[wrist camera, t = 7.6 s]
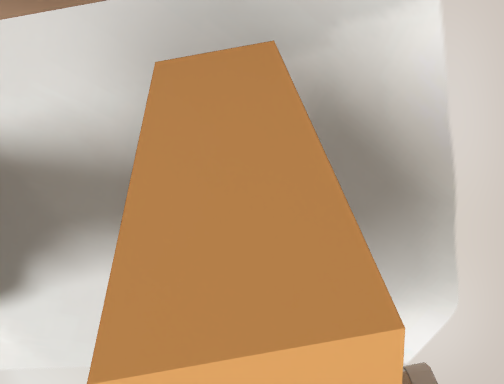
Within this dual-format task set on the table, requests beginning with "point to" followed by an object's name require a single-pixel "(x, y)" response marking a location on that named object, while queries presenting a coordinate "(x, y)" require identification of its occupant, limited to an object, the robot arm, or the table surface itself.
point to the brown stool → (36, 6)
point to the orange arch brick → (240, 242)
